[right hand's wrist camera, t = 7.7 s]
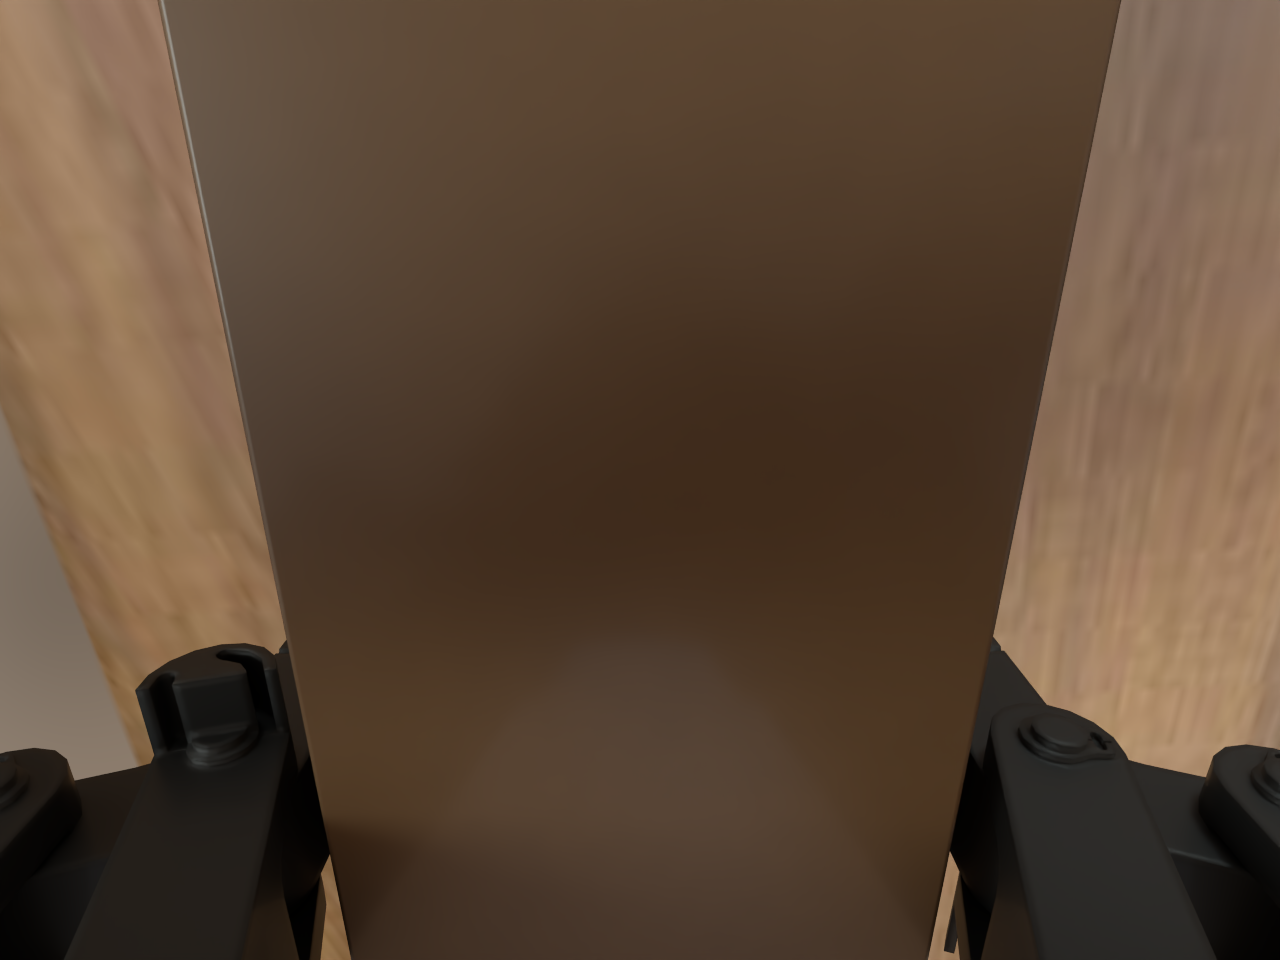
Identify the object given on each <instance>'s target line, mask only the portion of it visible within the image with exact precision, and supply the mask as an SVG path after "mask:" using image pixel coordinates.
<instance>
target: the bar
mask: <svg viewBox="0 0 1280 960" xmlns="http://www.w3.org/2000/svg"><path fill="white" fill-rule="evenodd" d="M1120 3H1121V0H158V5H159V10H160V15H161V20H162V25H163V30H164V34H165V39H166V44H167V49H168V54H169V59H170V64H171V69H172V74H173V79H174V84H175V89H176V94H177V99H178V104H179V109H180V114H181V119H182V124H183V129H184V133H185V138H186V143H187V148H188V153H189V158H190V163H191V168H192V173H193V178H194V183H195V188H196V193H197V198H198V203H199V208H200V213H201V218H202V223H203V228H204V232H205V237H206V242H207V247H208V252H209V257H210V262H211V267H212V272H213V277H214V282H215V287H216V292H217V297H218V302H219V307H220V312H221V317H222V322H223V327H224V332H225V336H226V341H227V346H228V351H229V356H230V361H231V366H232V371H233V376H234V381H235V386H236V391H237V396H238V401H239V406H240V411H241V416H242V421H243V426H244V431H245V435H246V440H247V445H248V450H249V455H250V460H251V465H252V470H253V475H254V480H255V485H256V490H257V495H258V500H259V505H260V510H261V515H262V520H263V525H264V530H265V534H266V539H267V544H268V549H269V554H270V559H271V564H272V569H273V574H274V579H275V584H276V589H277V594H278V599H279V604H280V609H281V614H282V619H283V624H284V629H285V634H286V638H287V643H288V648H289V653H290V658H291V663H292V668H293V673H294V678H295V683H296V688H297V693H298V698H299V703H300V708H301V713H302V718H303V723H304V728H305V733H306V737H307V742H308V747H309V752H310V757H311V762H312V767H313V772H314V777H315V782H316V787H317V792H318V797H319V802H320V807H321V812H322V817H323V822H324V827H325V832H326V836H327V841H328V846H329V851H330V856H331V861H332V866H333V871H334V876H335V881H336V886H337V891H338V896H339V901H340V906H341V911H342V916H343V921H344V926H345V931H346V935H347V940H348V945H349V950H350V955H351V960H928V956H929V951H930V946H931V942H932V937H933V932H934V927H935V922H936V917H937V912H938V907H939V902H940V897H941V892H942V887H943V882H944V877H945V872H946V867H947V862H948V857H949V852H950V847H951V842H952V837H953V832H954V827H955V822H956V817H957V812H958V807H959V802H960V798H961V793H962V788H963V783H964V778H965V773H966V768H967V763H968V758H969V753H970V748H971V743H972V738H973V733H974V728H975V723H976V718H977V713H978V708H979V703H980V698H981V693H982V688H983V683H984V678H985V673H986V668H987V663H988V658H989V654H990V649H991V644H992V639H993V634H994V629H995V624H996V619H997V614H998V609H999V604H1000V599H1001V594H1002V589H1003V584H1004V579H1005V574H1006V569H1007V564H1008V559H1009V554H1010V549H1011V544H1012V539H1013V534H1014V529H1015V524H1016V519H1017V514H1018V509H1019V505H1020V500H1021V495H1022V490H1023V485H1024V480H1025V475H1026V470H1027V465H1028V460H1029V455H1030V450H1031V445H1032V440H1033V435H1034V430H1035V425H1036V420H1037V415H1038V410H1039V405H1040V400H1041V395H1042V390H1043V385H1044V380H1045V375H1046V370H1047V365H1048V361H1049V356H1050V351H1051V346H1052V341H1053V336H1054V331H1055V326H1056V321H1057V316H1058V311H1059V306H1060V301H1061V296H1062V291H1063V286H1064V281H1065V276H1066V271H1067V266H1068V261H1069V256H1070V251H1071V246H1072V241H1073V236H1074V231H1075V226H1076V221H1077V217H1078V212H1079V207H1080V202H1081V197H1082V192H1083V187H1084V182H1085V177H1086V172H1087V167H1088V162H1089V157H1090V152H1091V147H1092V142H1093V137H1094V132H1095V127H1096V122H1097V117H1098V112H1099V107H1100V102H1101V97H1102V92H1103V87H1104V82H1105V77H1106V73H1107V68H1108V63H1109V58H1110V53H1111V48H1112V43H1113V38H1114V33H1115V28H1116V23H1117V18H1118V13H1119V8H1120Z"/></svg>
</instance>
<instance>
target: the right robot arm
mask: <svg viewBox="0 0 1280 960" xmlns="http://www.w3.org/2000/svg"><path fill="white" fill-rule="evenodd" d="M135 691H136V695H137V698H138V702H139V705H140V708H141V712H142V715H143V718H144V722H145V725H146V728H147V732H148V735H149V739H150V742H151V745H152V749H153V752H154V757H153V759H152V762H151V763H150V764H147V765H143V766H140V767H136V768H132V769H127V770H122V771H118V772H113V773H109V774H104V775H99V776H94V777H90V778H85V779H80V780H76V781H74V778H73V775H72V772H71V770H70V767H69V764H68V761H67V759H66V758H65V757H63V756H62V755H61V754H59V753H58V752H57V751H55V750H47V749H39V748H30V749H23V750H17V751H10V752H5V753H1V754H0V960H320V958H321V949H322V940H323V930H324V921H325V912H326V899H325V892H324V886H323V881H322V877H321V872H322V870H323V868H324V866H325V863H326V861H327V859H328V857H329V855H330V851H329V846H328V841H327V836H326V832H325V827H324V822H323V817H322V812H321V807H320V802H319V797H318V792H317V787H316V782H315V777H314V772H313V767H312V762H311V757H310V752H309V747H308V742H307V737H306V733H305V728H304V723H303V718H302V713H301V708H300V703H299V698H298V693H297V688H296V683H295V678H294V673H293V668H292V663H291V658H290V653H289V648H288V643H287V640H286V641H285V642H284V644H283V645H282V646H281V648H280V649H279V654H275V655H273V654H272V653H271V652H269V651H268V650H267V649H266V648H264V647H261V646H256V645H251V644H246V643H241V644H221V645H217V646H213V647H208V648H204V649H200V650H195V651H193V652H190V653H188V654H186V655H183V656H181V657H178V658H176V659H174V660H171V661H169V662H168V663H166V664H164V665H163V666H161V667H160V668H158V669H157V670H155V671H154V672H152V673H151V674H149V675H148V676H147V677H146V678H145V680H144V681H143V682H142V683H141V684H140V685H139V686H138V688H137V689H136V690H135ZM950 852H951V854H952V856H953V858H954V861H955V863H956V865H957V867H958V869H959V871H960V872H959V877H958V881H957V886H956V891H955V896H954V900H953V905H952V910H951V915H950V919H949V924H948V929H947V934H946V940H945V947H944V951H946V952H950V953H954V951H955V947H956V942H957V938H958V947H959V956H960V960H1280V750H1277V749H1274V748H1267V747H1260V746H1253V745H1238V746H1230V747H1225V748H1223V749H1222V750H1221V751H1219V752H1218V753H1217V754H1215V755H1214V756H1213V759H1212V762H1211V765H1210V767H1209V770H1208V773H1207V776H1206V777H1201V776H1196V775H1192V774H1187V773H1182V772H1178V771H1173V770H1168V769H1164V768H1159V767H1154V766H1150V765H1145V764H1141V763H1138V762H1134V761H1130V760H1128V758H1127V756H1126V754H1125V752H1124V751H1123V750H1122V748H1121V747H1120V746H1119V744H1118V743H1117V741H1116V740H1115V739H1114V737H1112V736H1111V735H1110V734H1108V733H1107V732H1106V731H1104V730H1103V729H1102V728H1100V727H1099V726H1098V725H1096V724H1095V723H1094V722H1092V721H1090V720H1087V719H1085V718H1083V717H1081V716H1079V715H1077V714H1075V713H1073V712H1071V711H1068V710H1064V709H1060V708H1056V707H1053V706H1049V705H1046V703H1045V702H1044V701H1043V699H1042V698H1041V697H1040V696H1039V694H1038V693H1037V692H1036V691H1035V689H1034V688H1033V687H1032V686H1031V684H1030V683H1029V682H1028V680H1027V679H1026V678H1025V677H1024V675H1023V674H1022V673H1021V672H1020V670H1019V669H1018V668H1017V666H1016V665H1015V664H1014V663H1013V661H1012V660H1011V659H1010V658H1009V656H1008V655H1007V654H1006V653H1005V651H1001V646H1000V645H999V644H998V642H997V641H996V640H995V639H994V637H993V639H992V644H991V649H990V654H989V658H988V663H987V668H986V673H985V678H984V683H983V688H982V693H981V698H980V703H979V708H978V713H977V718H976V723H975V728H974V733H973V738H972V743H971V748H970V753H969V758H968V763H967V768H966V773H965V778H964V783H963V788H962V793H961V798H960V802H959V807H958V812H957V817H956V822H955V827H954V832H953V837H952V842H951V847H950Z"/></svg>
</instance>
